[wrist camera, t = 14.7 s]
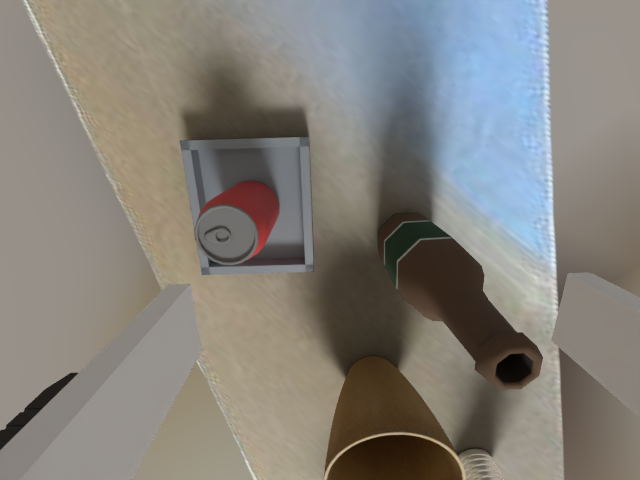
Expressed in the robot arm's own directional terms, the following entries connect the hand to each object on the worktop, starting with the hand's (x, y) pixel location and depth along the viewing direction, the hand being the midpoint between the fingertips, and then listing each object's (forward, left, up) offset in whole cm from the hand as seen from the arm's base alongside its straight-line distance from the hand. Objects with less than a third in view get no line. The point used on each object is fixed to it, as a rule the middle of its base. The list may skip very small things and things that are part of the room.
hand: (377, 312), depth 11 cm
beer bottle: (+7, +9, -29) cm, 31 cm away
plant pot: (+29, +5, -29) cm, 41 cm away
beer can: (+2, -10, -28) cm, 30 cm away
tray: (+2, -10, -29) cm, 30 cm away
